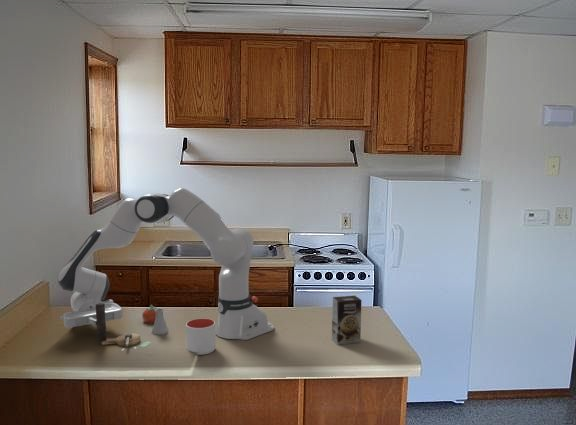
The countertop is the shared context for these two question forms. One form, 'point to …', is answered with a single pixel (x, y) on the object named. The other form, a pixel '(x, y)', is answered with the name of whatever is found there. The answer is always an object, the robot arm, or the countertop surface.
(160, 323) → the flask
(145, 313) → the tomato
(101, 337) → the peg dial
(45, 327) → the countertop surface
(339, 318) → the coffee box
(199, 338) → the cup
